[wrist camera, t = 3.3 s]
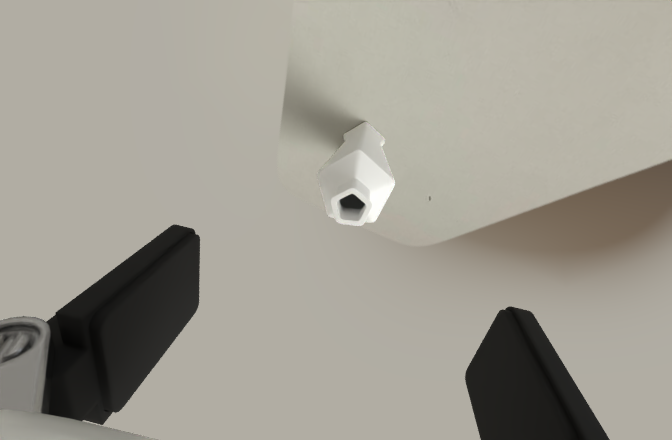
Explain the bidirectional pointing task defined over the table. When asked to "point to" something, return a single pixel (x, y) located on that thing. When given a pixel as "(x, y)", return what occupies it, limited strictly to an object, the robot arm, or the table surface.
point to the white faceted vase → (356, 178)
